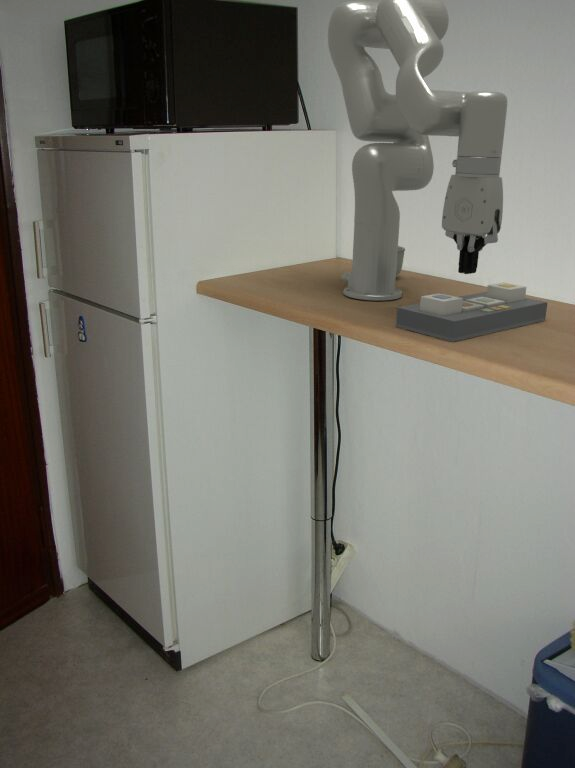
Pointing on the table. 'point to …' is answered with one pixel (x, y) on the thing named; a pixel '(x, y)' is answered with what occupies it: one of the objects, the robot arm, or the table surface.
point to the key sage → (486, 301)
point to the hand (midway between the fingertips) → (467, 272)
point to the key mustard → (506, 292)
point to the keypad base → (471, 319)
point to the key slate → (441, 304)
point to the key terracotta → (471, 306)
